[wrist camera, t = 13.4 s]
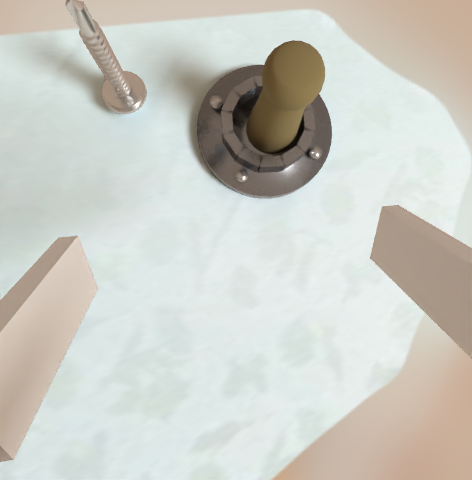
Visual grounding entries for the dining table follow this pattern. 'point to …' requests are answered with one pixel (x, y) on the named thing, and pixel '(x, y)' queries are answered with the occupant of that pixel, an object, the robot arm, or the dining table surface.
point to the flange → (242, 151)
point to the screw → (108, 64)
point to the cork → (285, 95)
